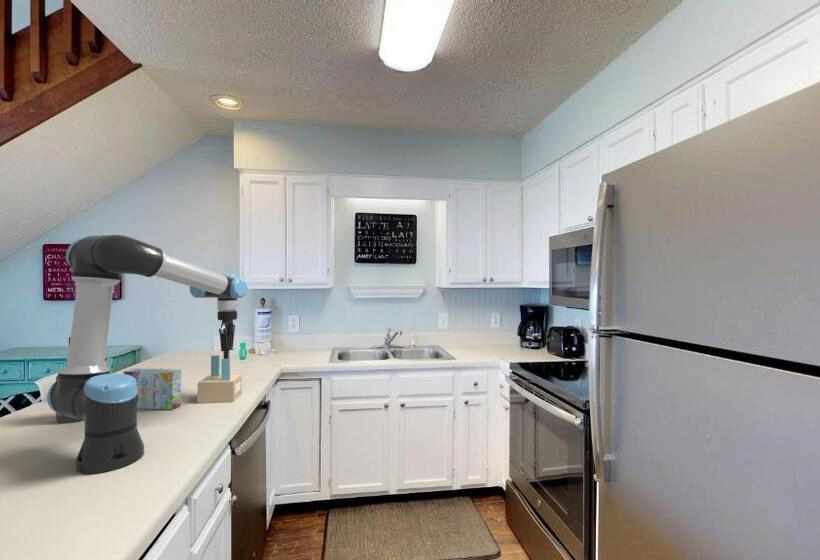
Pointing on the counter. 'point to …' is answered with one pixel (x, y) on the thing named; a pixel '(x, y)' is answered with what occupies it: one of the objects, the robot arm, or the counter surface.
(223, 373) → the flap near
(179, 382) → the snack box
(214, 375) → the flap far
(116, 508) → the counter surface
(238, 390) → the carton
